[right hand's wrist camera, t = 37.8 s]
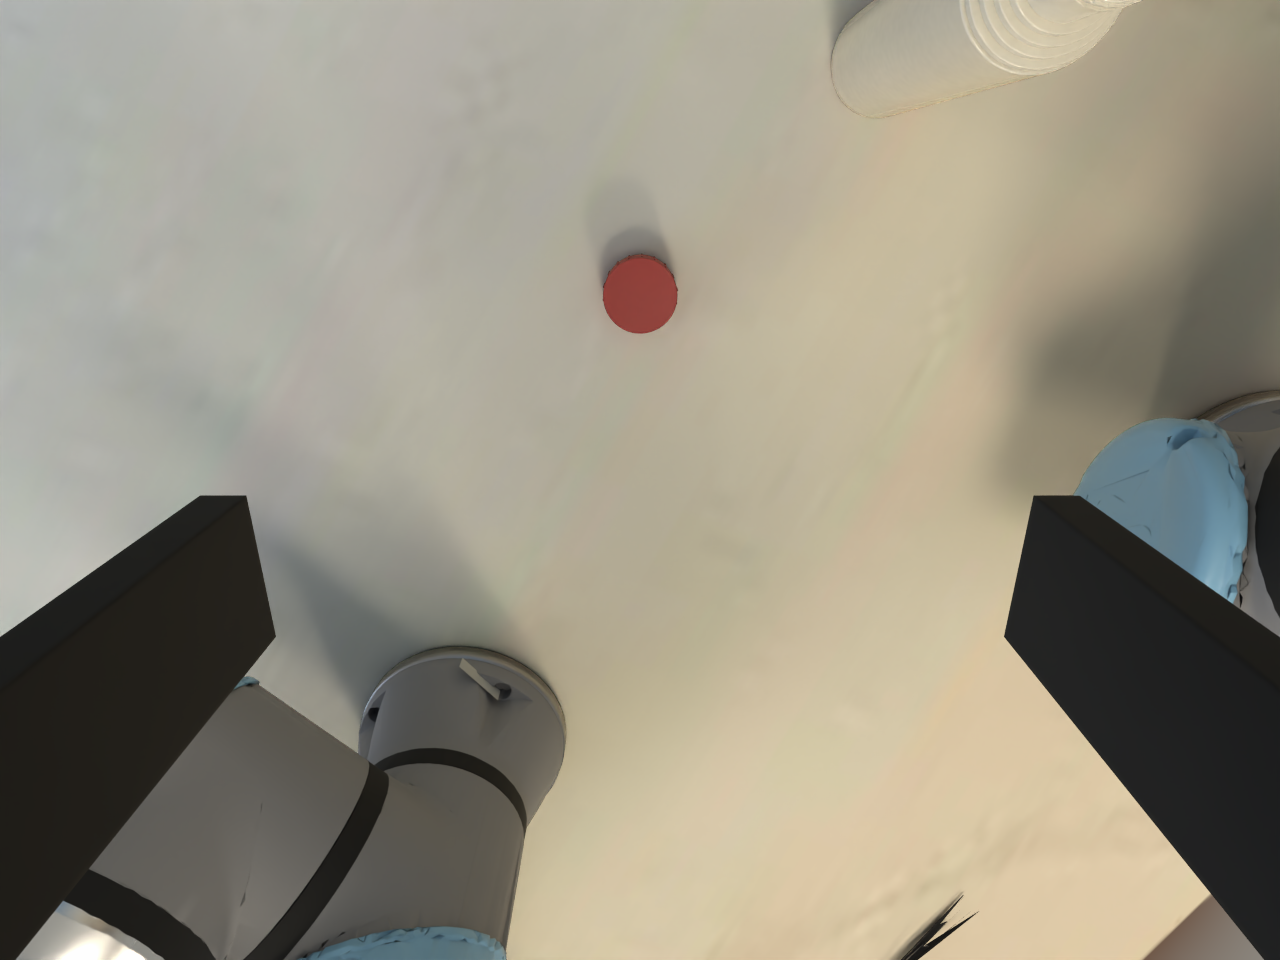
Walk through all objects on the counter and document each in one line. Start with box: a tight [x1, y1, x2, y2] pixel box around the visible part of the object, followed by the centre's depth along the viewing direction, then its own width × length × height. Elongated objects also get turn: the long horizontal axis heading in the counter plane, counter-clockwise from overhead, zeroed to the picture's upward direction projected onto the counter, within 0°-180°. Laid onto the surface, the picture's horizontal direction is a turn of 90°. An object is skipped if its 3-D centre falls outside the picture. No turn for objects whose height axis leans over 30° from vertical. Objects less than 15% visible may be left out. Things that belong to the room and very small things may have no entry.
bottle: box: [831, 0, 1142, 118], centre depth 31 cm, size 6×6×22 cm
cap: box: [603, 254, 678, 333], centre depth 44 cm, size 4×4×2 cm
